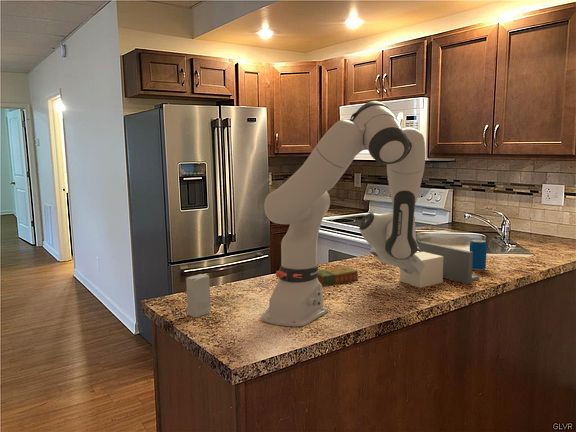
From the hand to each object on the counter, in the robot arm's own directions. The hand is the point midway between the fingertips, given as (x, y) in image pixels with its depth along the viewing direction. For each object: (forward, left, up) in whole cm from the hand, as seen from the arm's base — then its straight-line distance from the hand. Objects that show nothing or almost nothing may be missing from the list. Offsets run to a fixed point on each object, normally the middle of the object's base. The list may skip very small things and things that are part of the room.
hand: (409, 271), depth 171 cm
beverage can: (+33, -22, -5) cm, 40 cm away
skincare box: (-55, +55, -5) cm, 78 cm away
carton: (-4, +27, -6) cm, 28 cm away
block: (+6, -4, -5) cm, 8 cm away
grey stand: (+19, -13, -5) cm, 23 cm away
